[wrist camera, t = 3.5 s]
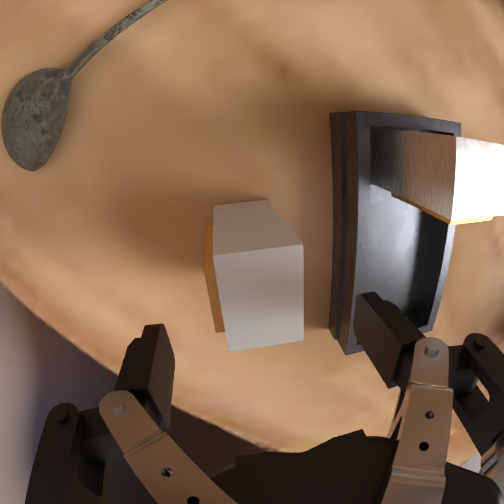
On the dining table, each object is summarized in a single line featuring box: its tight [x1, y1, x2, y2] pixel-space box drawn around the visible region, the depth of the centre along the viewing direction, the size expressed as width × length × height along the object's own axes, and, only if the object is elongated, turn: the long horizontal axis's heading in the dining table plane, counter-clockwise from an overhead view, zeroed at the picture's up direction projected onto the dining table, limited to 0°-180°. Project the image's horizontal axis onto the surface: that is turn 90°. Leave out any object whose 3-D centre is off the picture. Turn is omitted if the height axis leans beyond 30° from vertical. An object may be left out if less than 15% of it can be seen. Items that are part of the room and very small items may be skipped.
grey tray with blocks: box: [329, 111, 504, 355], centre depth 16 cm, size 17×9×10 cm, turn 5°
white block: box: [203, 199, 304, 352], centre depth 16 cm, size 4×5×8 cm
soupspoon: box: [2, 0, 167, 171], centre depth 13 cm, size 22×3×7 cm
